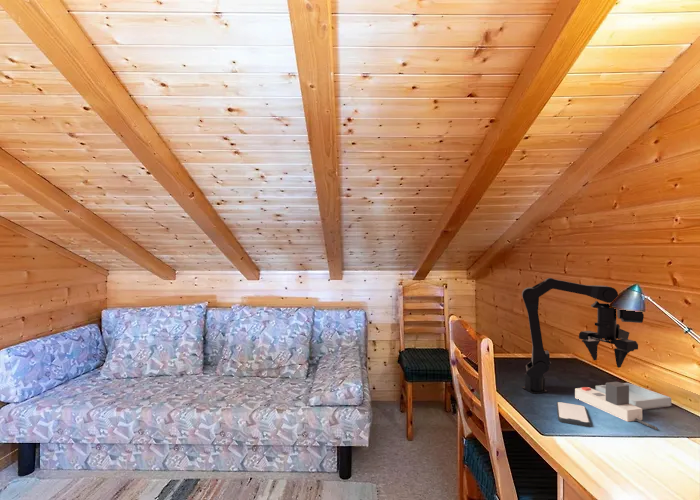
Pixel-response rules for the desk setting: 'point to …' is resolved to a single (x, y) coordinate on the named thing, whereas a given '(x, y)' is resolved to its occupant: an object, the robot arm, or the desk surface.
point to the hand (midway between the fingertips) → (606, 363)
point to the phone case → (572, 414)
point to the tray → (643, 397)
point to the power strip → (610, 405)
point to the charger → (617, 393)
